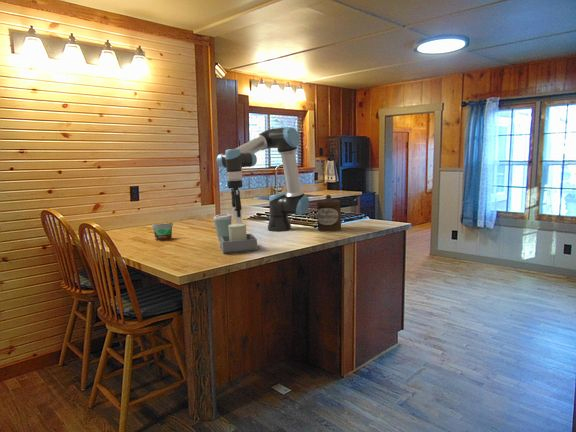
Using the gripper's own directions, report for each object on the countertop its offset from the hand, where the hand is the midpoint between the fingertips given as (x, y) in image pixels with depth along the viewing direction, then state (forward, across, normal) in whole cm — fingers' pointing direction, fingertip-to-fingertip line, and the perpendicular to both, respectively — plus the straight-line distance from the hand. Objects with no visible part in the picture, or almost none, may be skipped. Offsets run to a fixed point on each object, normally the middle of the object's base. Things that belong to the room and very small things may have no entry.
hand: (237, 221), depth 212 cm
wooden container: (+16, -33, +62) cm, 71 cm away
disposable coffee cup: (+15, -26, -6) cm, 30 cm away
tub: (+14, 0, 0) cm, 15 cm away
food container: (+15, -44, -40) cm, 61 cm away
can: (+14, 0, 0) cm, 14 cm away
